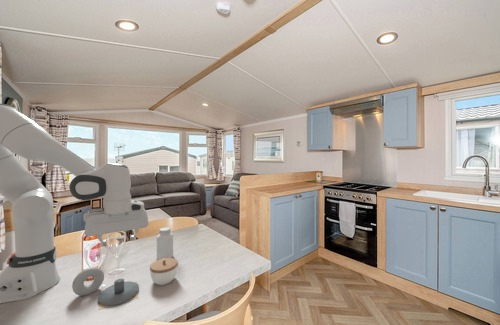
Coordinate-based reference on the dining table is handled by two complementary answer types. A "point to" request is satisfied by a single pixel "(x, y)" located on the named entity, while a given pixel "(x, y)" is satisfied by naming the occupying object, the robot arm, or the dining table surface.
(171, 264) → the lidded jar
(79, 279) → the donut
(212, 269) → the dining table surface
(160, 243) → the pill bottle
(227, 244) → the dining table surface
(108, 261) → the dining table surface
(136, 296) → the mat
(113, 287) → the lid
